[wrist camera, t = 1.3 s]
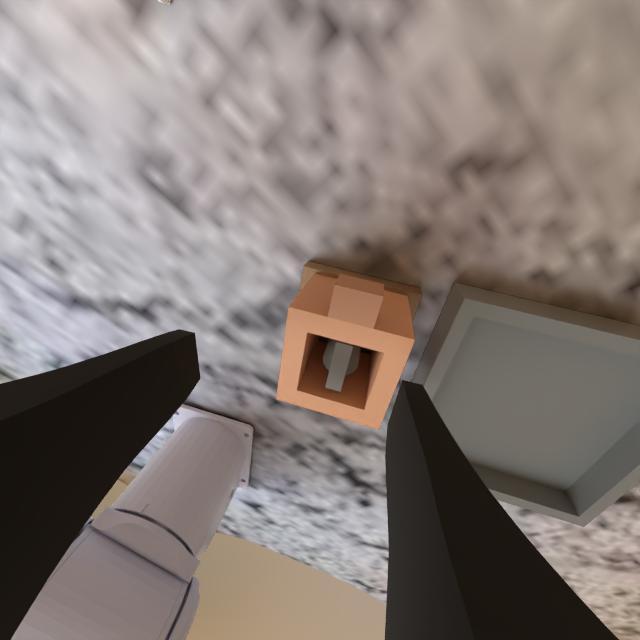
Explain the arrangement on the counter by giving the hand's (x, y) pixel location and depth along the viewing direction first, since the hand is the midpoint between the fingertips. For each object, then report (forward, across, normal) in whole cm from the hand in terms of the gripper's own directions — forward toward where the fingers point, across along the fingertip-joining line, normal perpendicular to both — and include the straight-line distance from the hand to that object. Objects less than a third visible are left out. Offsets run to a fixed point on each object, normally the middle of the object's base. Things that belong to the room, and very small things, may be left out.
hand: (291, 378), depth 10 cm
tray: (+10, -13, +6) cm, 17 cm away
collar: (+8, -1, +2) cm, 9 cm away
